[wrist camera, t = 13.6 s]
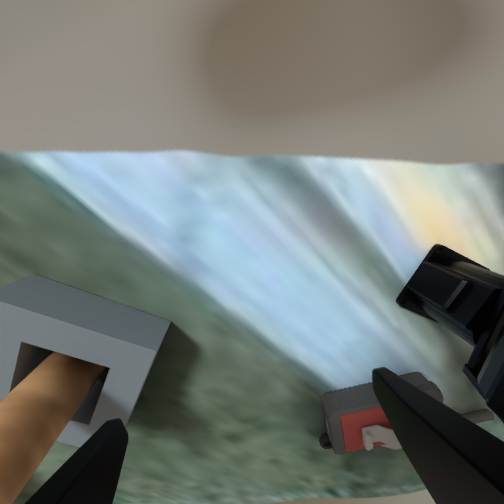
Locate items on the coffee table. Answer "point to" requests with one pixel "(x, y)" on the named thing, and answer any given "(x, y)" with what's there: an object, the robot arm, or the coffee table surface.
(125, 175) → the coffee table surface
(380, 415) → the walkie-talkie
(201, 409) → the coffee table surface
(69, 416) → the peg
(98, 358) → the socket block
